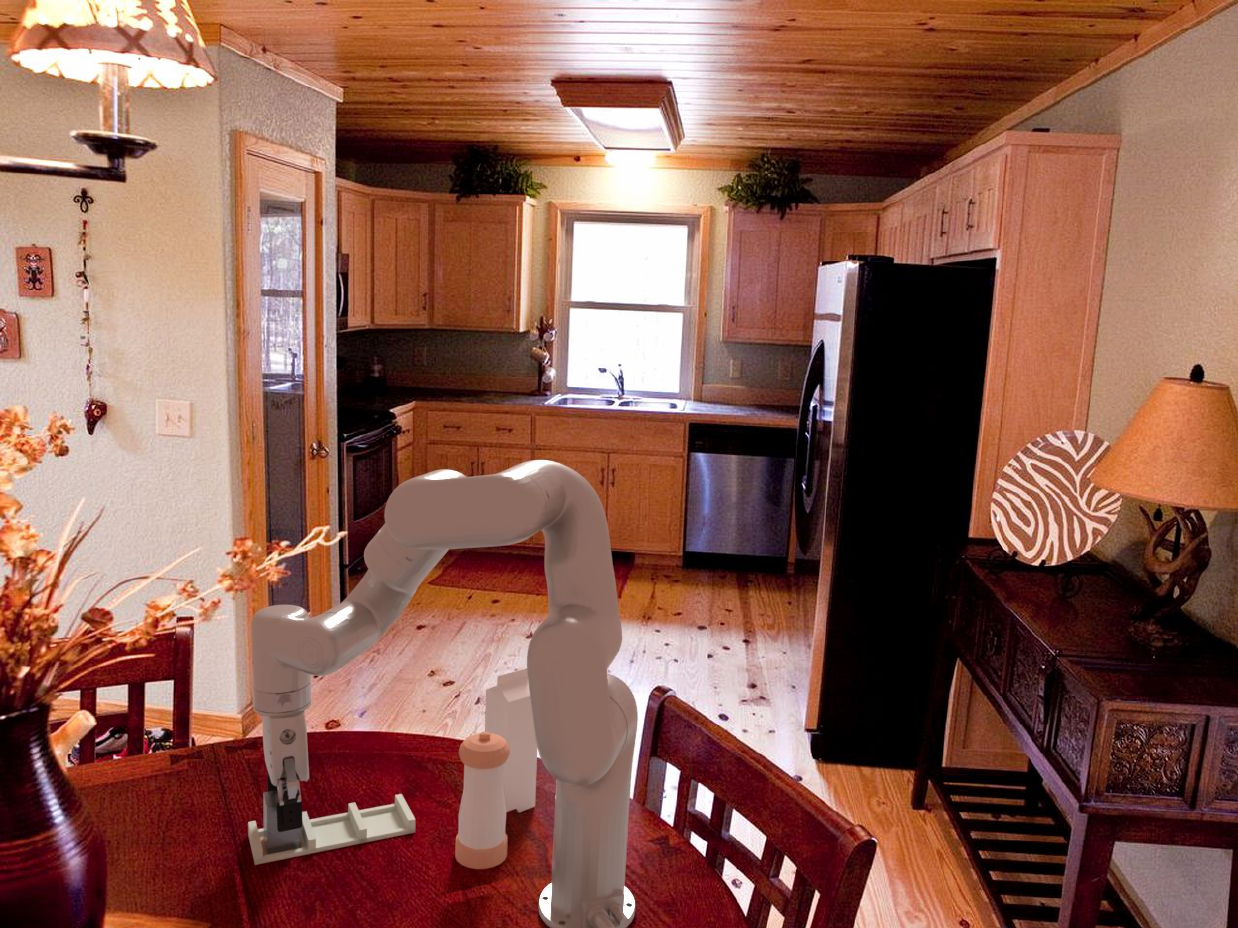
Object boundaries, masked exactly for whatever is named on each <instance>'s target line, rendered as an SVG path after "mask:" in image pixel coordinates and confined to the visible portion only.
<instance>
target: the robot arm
mask: <svg viewBox="0 0 1238 928" xmlns="http://www.w3.org/2000/svg"><path fill="white" fill-rule="evenodd" d="M607 520H608V519H607V516H606V511H605V509H604V505H603V504H602V500H601V499H600V497H599V495H598V493H597V492H596V490H595V489H594V487H593V486H592V485H591V483H590V482H589V481H588V480H587V479H586V478H585V477H584V476H582V475H581V474H580V473H579V472H577V471H576V470H575V469H573V468H570V467H569V466H567V465H565V464H562V463H560V462H556V461H553V460H547V459H533V460H528V461H523V462H522V463H518V464H515V465H513V466H512V467H509V468H507V469H504V470H502V471H500V472H497V473H493V474H486V475H485V474H483V475H474V476H467V475H466V474H463V473H462V472H459V471H456V470H453V469H445V468H443V469H437V470H433V471H430V472H427V473H424V474H421V475H418V476H414V477H412V478H410V479H408V480H406V481H403V482H402V483H400V484H399V485H398V486H396V488H395V489H393V491H392V493H390V495H389V496H388V499H387V501H386V504H385V506H384V524H383V525H382V526H381V528H380V529H379V530H378V531H377V532H376V533H375V535H374V536H373V538H371V540H370V541H369V542H368V543H367V545H366V547H365V549H364V551H363V558H364V563H365V565H366V567H367V571H366V572H365V574H364V576H363V577H362V578H361V579H360V581H359V582H358V583H357V584H356V586H355V587H354V588H353V590H351V591H350V593H349V594H348V595H347V596H346V598H344V599H343V601H341V603H338V605H336V606H333V607H332V608H331V607H330V609H329V608H328V609H327V610H326V611H324V612H322V613H321V614H319V615H316V616H313V617H310V615H309V613H308V611H307V609H305V608H303V607H301V606H298V605H295V604H294V605H293V604H276V605H275V604H274V605H270V606H267V607H263V608H260V609H259V610H257V611H255V613H254V614H253V615H252V617H251V623H250V624H251V625H250V629H251V630H250V631H251V632H250V633H251V634H250V635H251V667H252V668H251V669H252V670H251V671H252V707H253V712H254V713H255V714H258V715H259V716H261V717H262V720H261V721H262V725H261V727H262V743H263V745H262V746H263V754H264V763H265V766H266V769H267V771H266V774H267V775H266V777H267V780H266V781H267V782H266V783H267V792H269V791H275V790H278V798H279V803H277V830H278V832H283V831H288V830H293V829H298V828H301V827H302V812H303V800H302V794H301V786H300V781H301V782H303V781H304V782H308V781H309V779H310V767H309V751H308V733H307V730H308V729H307V720H306V715H305V713H306V712H305V711H306V710H308V709H309V708H310V707H311V705H312V689H311V687H312V685H311V684H312V683H311V681H312V679H311V678H312V677H311V675H312V676H319V677H322V676H328V675H331V674H333V673H335V672H337V671H339V670H340V669H341V668H343V667H344V666H346V665H347V664H349V663H350V662H351V661H353V660H354V659H356V658H357V657H359V656H360V655H361V654H363V653H365V652H366V651H368V650H369V649H371V648H372V647H373V646H374V645H376V643H377V642H379V640H380V639H382V637H383V636H384V634H385V633H386V632H387V631H388V630H389V629H390V627H392V625H393V624H394V623H395V622H396V620H397V619H398V618H399V616H401V615H402V614H403V612H404V611H405V609H406V608H407V606H408V605H409V603H410V602H411V600H412V599H413V597H414V595H415V594H416V592H417V590H418V587H419V586H420V585H421V584H422V582H423V581H424V580H425V579H426V578H427V576H428V575H429V574H430V573H431V572H432V571H433V569H434V568H435V567H436V565H438V564H439V562H440V561H441V559H443V557H444V556H445V555H446V553H447V552H449V550H456V549H471V548H473V549H474V548H488V547H490V548H491V547H492V548H493V547H502V546H511V545H514V544H518V543H522V542H523V541H526V540H528V539H529V538H532V536H534V535H536V534H537V533H539V532H540V531H541V532H542V534H543V537H544V574H545V580H546V585H547V597H548V598H547V599H548V614H547V617H546V618H545V619H544V620H543V621H542V622H541V623H540V624H539V625H538V626H537V628H536V629H535V631H534V632H533V634H532V636H531V638H530V641H529V644H528V648H527V653H526V654H527V655H526V668H527V674H528V683H529V691H530V699H531V706H532V714H533V722H534V730H535V737H536V744H537V753H538V755H539V758H540V760H541V762H542V764H543V765H544V767H545V769H546V770H547V771H548V773H550V775H551V776H553V777H554V779H556V781H555V796H554V797H555V798H554V817H553V818H554V820H553V821H554V822H553V843H552V864H551V865H552V867H551V870H552V871H551V883H549V884H548V885H547V886H546V887H544V889H543V890H542V892H541V893H540V894H539V895H540V896H539V898H538V914H539V916H540V918H541V920H542V921H543V922H544V924H545V925H546V926H547V927H549V928H628V926H629V925H630V924H632V922H633V920H634V918H635V913H636V901H635V897H634V896H633V894H632V892H631V891H630V890H629V888H627V887H626V886H625V882H626V867H627V865H626V864H627V851H628V850H627V848H628V834H629V833H628V831H629V815H630V812H629V811H630V799H631V786H632V784H631V782H632V771H633V763H634V755H635V747H636V739H637V732H638V720H639V719H638V716H639V715H638V706H637V701H636V698H635V696H634V694H633V691H632V689H630V687H629V685H627V683H626V682H624V680H622V679H620V678H619V677H618V676H616V675H614V674H611V673H608V668H609V667H610V665H612V663H613V662H614V660H615V659H616V657H617V655H618V653H619V652H620V650H621V646H622V642H623V629H622V622H621V616H620V609H619V601H618V593H617V583H616V582H617V581H616V577H615V570H614V565H613V563H614V562H613V555H612V548H611V540H610V539H611V538H610V531H609V526H608V521H607ZM283 789H287V790H286V791H284V793H283Z"/></svg>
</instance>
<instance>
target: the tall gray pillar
mask: <svg viewBox="0 0 1238 928" xmlns="http://www.w3.org/2000/svg"><path fill="white" fill-rule="evenodd" d="M286 790H287V789H283V793H284V791H286ZM262 795H263V796H262V797H263V801H262V802H263V805H262V807H263V810H262V811H263V815H262V816H263V828H264V843H265V847H266V852H267V855H269V854H274V853H279V852H284V851H289V850H294V849H299V848H301V828H298V829H293V830H288V831H283V832H278V830H277V803H279V798H278V790H275V791H269V792H268V791H264V792H263V793H262Z"/></svg>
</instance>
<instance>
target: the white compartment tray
mask: <svg viewBox="0 0 1238 928" xmlns="http://www.w3.org/2000/svg"><path fill="white" fill-rule="evenodd" d="M347 806H348V807H347V811H348V812H343V813H338V814H337V813H336V814H332V815H326V816H321V817H317V818H315V817H314V818H311V819H310V817H309V814H308V811H307V810H306V811H302V827H301V848H299V849H294V850H289V851H284V852H279V853H274V854H269V855H267V852H266V847H265V843H264V827H263V828H258V826H257V821H256V820H252V821H251V820H250V821H248V822H247V826H248V827H247V833H248V834H247V836H248V840H249V844H250V849H251V854H252V858H253V863H254V866H257V865H260V864H266V863H270V862H275V861H280V860H281V861H282V860H286V859H290V858H294V857H295V858H296V857H300V856H306V855H311V854H315V853H320V852H321V853H322V852H325V851H326V852H327V851H330V850H331V851H332V850H335V849H340V848H345V847H350V846H354V845H360V844H364V843H370V842H374V841H380V840H385V839H390V838H393V837H398V836H399V837H400V836H404V835H408V834H414V833H416V818H415V815H414V814H413V812H412V810H411V809H410V808H411V807H409V805H408V803H407V801H406V799H405V797H404V795H403V794H402V793H399V794H395V795H394V803H391V804H387V805H380V806H375V807H370V808H364V809H359V808H358V806H357V804H356V802H350V803H348V805H347Z"/></svg>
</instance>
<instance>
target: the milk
mask: <svg viewBox="0 0 1238 928" xmlns="http://www.w3.org/2000/svg"><path fill="white" fill-rule="evenodd" d="M496 681H497V682H496V683H497V684H496V685H494V686H492V687H489V688H486V689H485V711H484V712H485V714H484V716H485V717H484V731H486V732H489V733H492V734H496V735H500V736H501V737H503V738H504V739H505V740H506V742H507V743H508V745H509V748H510V754H509V757H508V759H507V760H506V762H505V763H504V767H503V792H504V800H505V807H506V813H508V812H511V811H514V810H516V811H517V812H518V813H522V812H524V811H527V810H530V809H533V808H535V806H536V793H537V791H536V790H537V767H538V766H537V765H538V748H537V744H536V737H535V730H534V722H533V714H532V706H531V699H530V691H529V683H528V674H527V667H526V668H521V669H519V670H514V671H511V672H506V673H502V674H499V675H498V676H497V680H496Z"/></svg>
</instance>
